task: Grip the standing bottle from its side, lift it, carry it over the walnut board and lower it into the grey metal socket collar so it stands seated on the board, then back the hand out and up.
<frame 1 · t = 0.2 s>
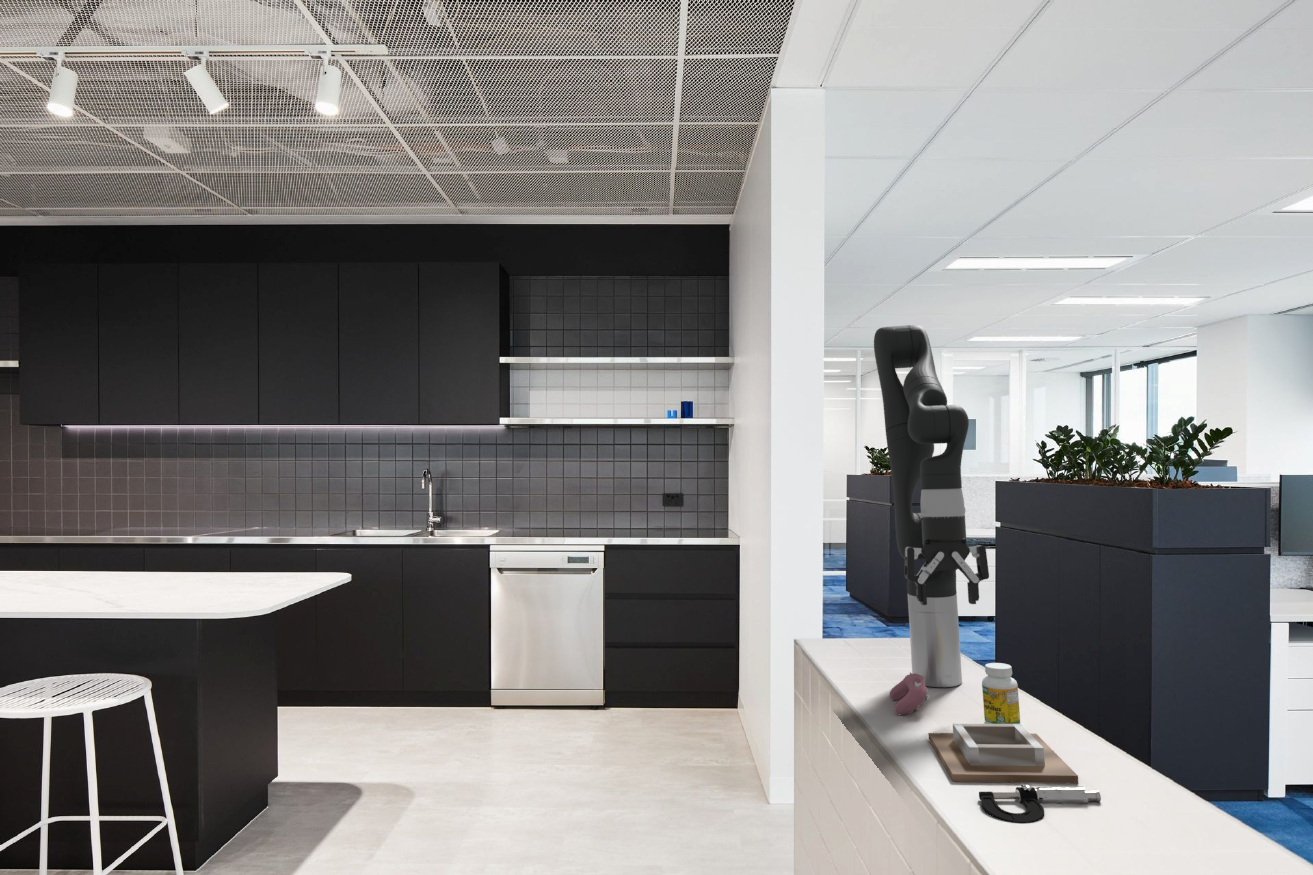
hand: (947, 604, 137), 18 cm above the counter, tool pointing down, fingers open, 8 cm apart
video game controller: (909, 708, 135), on the counter
supplement bottle: (1002, 725, 124), on the counter
socket board: (997, 759, 110), on the counter
micrometer: (1045, 814, 94), on the counter
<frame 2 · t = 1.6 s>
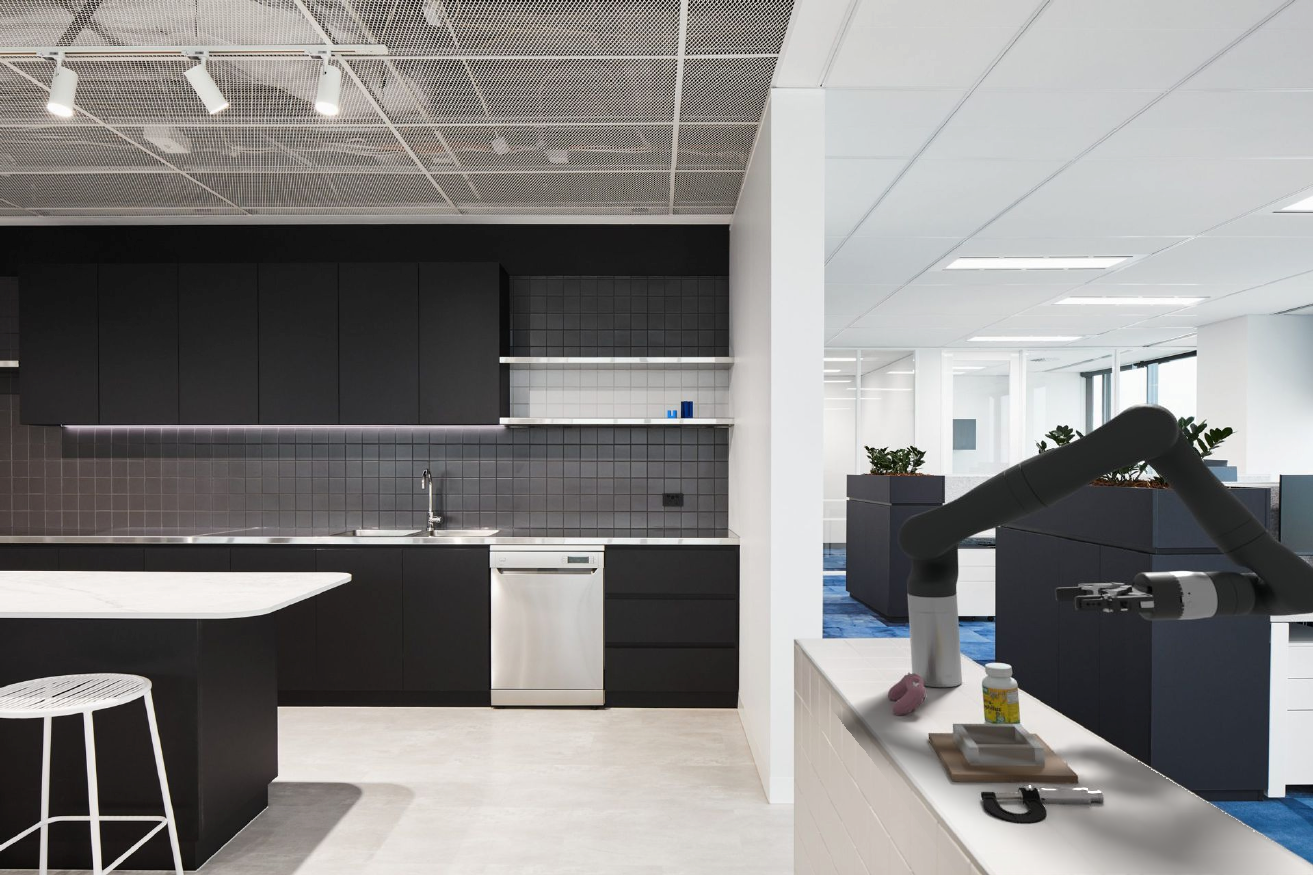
hand: (1065, 598, 123), 20 cm above the counter, tool horizontal, fingers open, 8 cm apart
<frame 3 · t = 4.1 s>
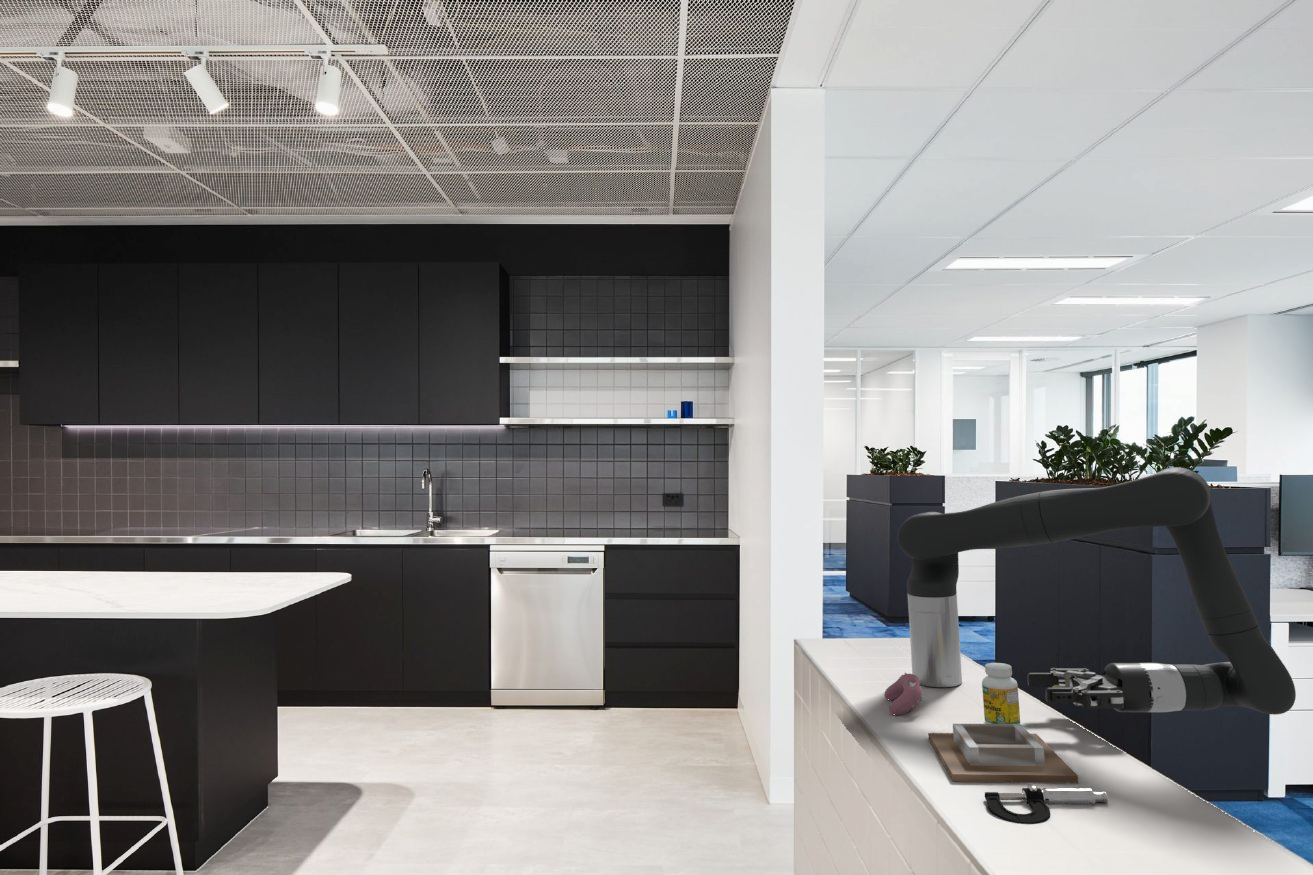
hand: (1036, 687, 124), 6 cm above the counter, tool horizontal, fingers open, 8 cm apart
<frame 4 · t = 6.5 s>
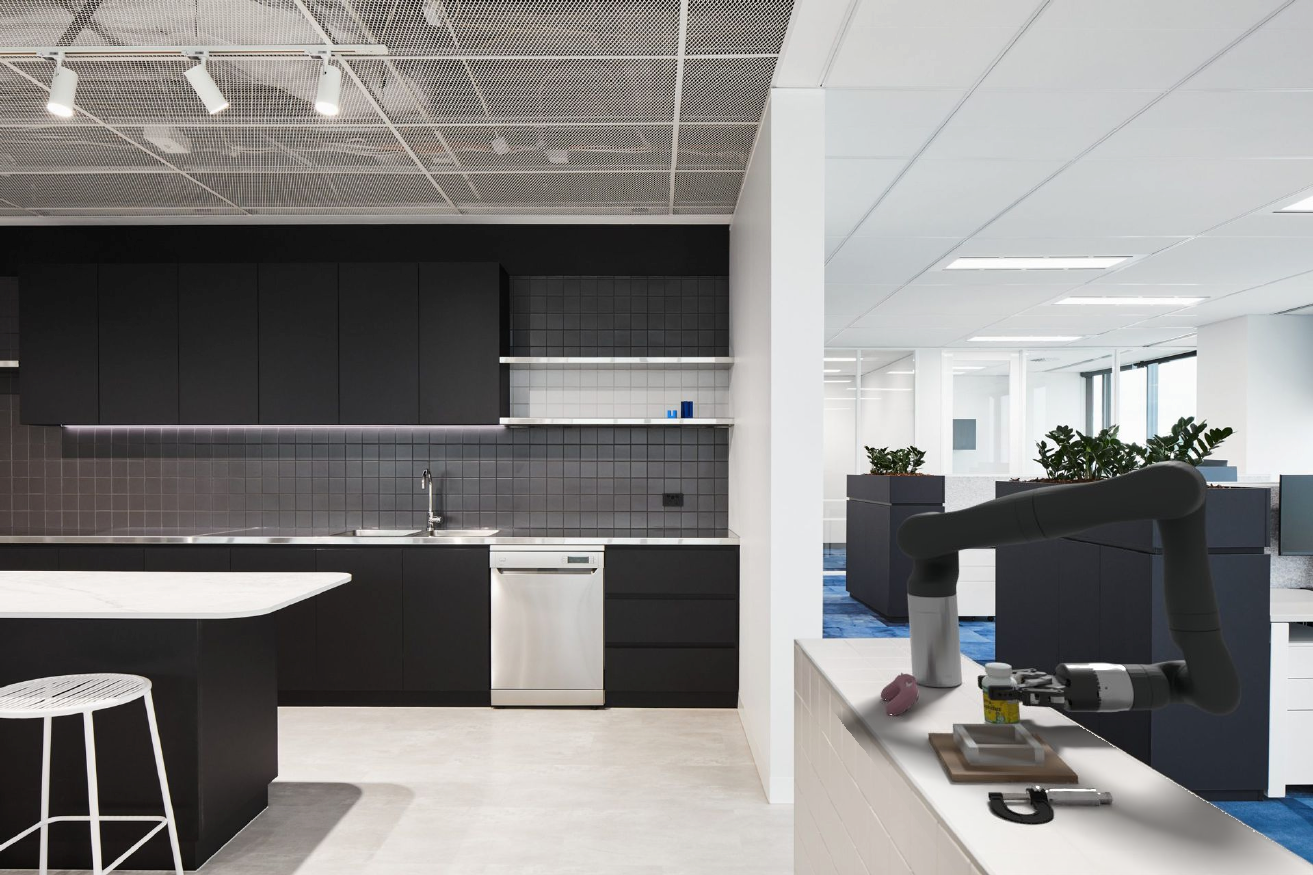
hand: (983, 687, 125), 6 cm above the counter, tool horizontal, fingers closed on supplement bottle, 5 cm apart
supplement bottle: (1002, 725, 124), on the counter, touching gripper
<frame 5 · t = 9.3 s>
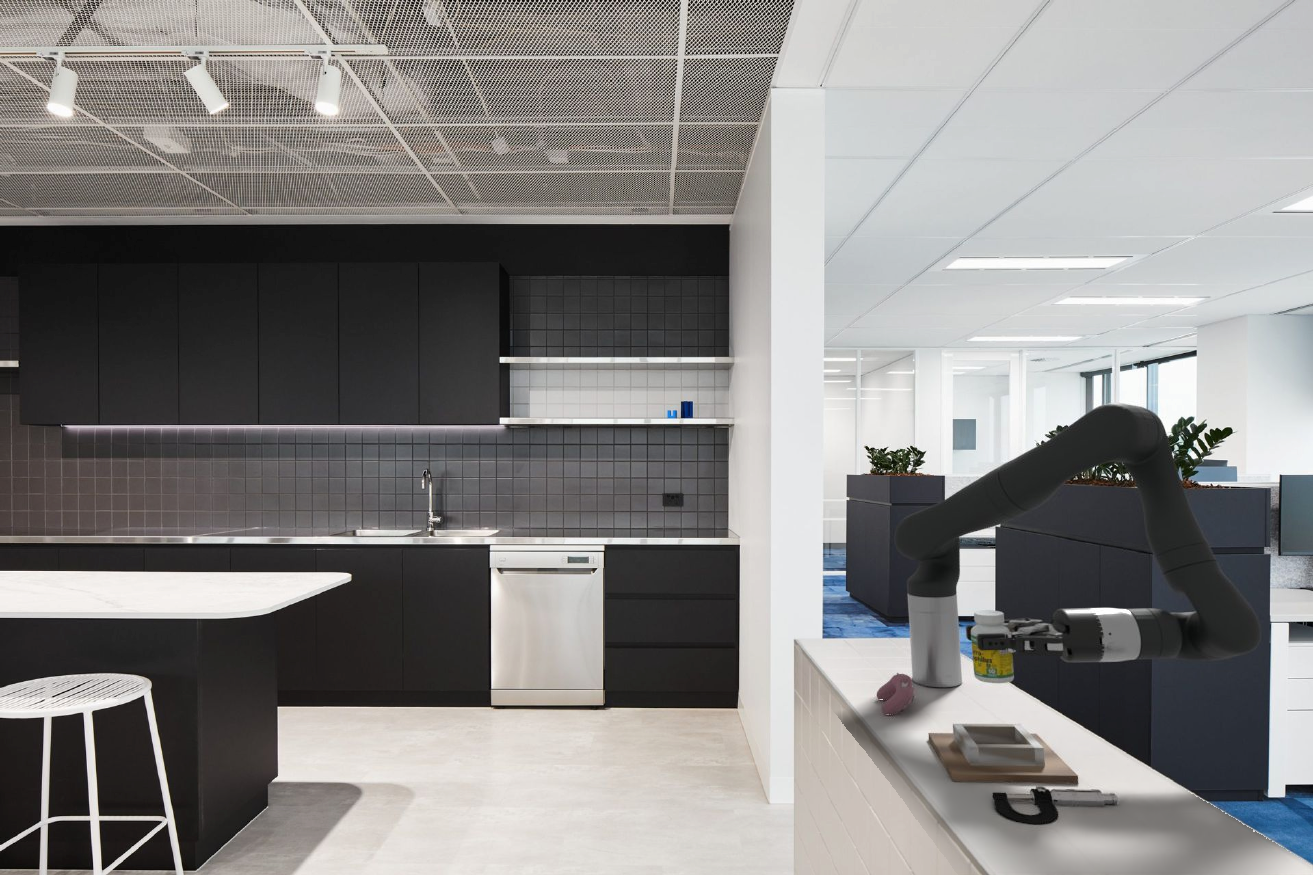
hand: (972, 637, 111), 18 cm above the counter, tool horizontal, fingers closed on supplement bottle, 5 cm apart
supplement bottle: (994, 680, 111), point 11 cm above the counter, touching gripper
when the fingers open (8 cm above the counter, at t = 12.4 s): supplement bottle drops 1 cm, resting on socket board.
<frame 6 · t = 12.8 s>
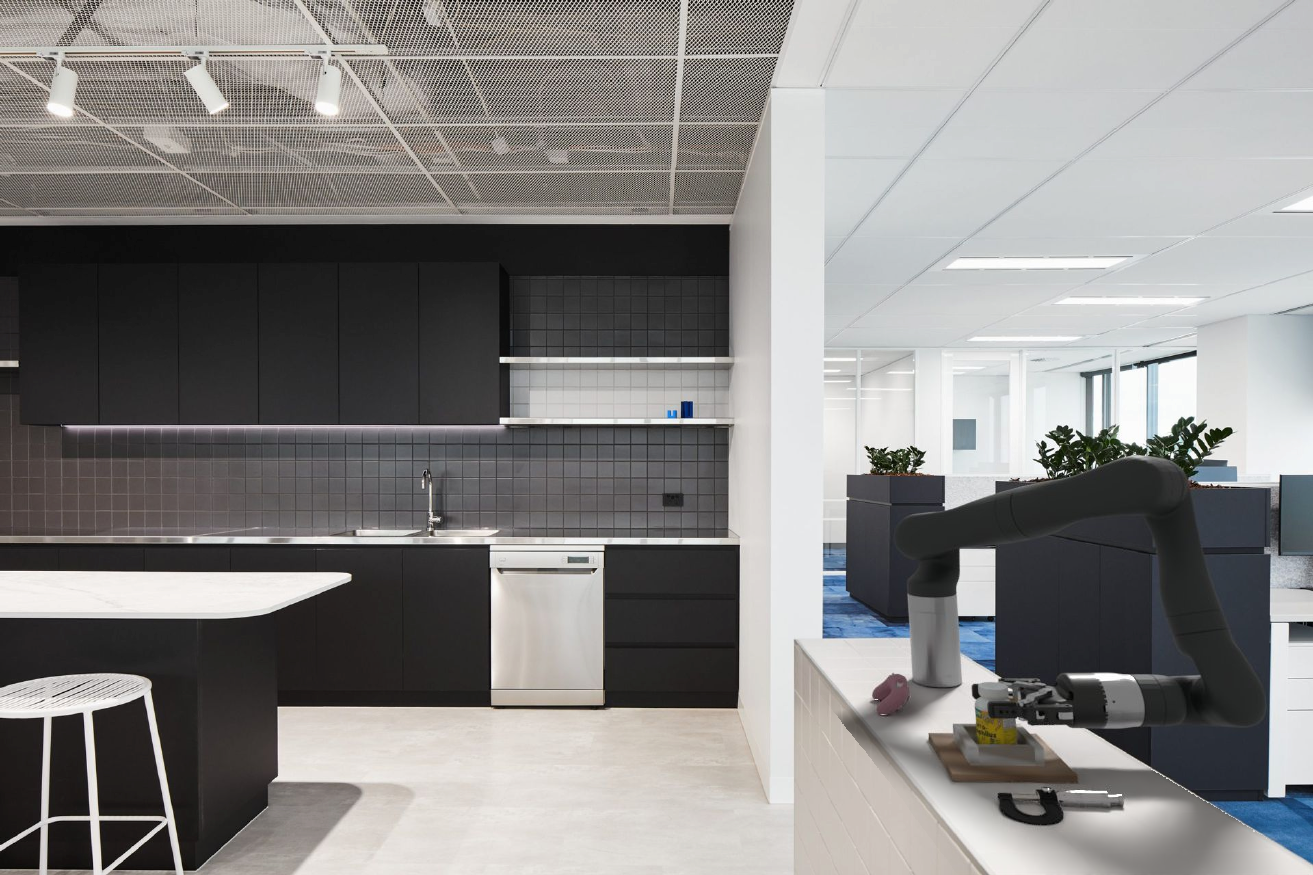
hand: (980, 700, 111), 9 cm above the counter, tool horizontal, fingers open, 8 cm apart
supplement bottle: (997, 753, 110), point 1 cm above the counter, touching socket board
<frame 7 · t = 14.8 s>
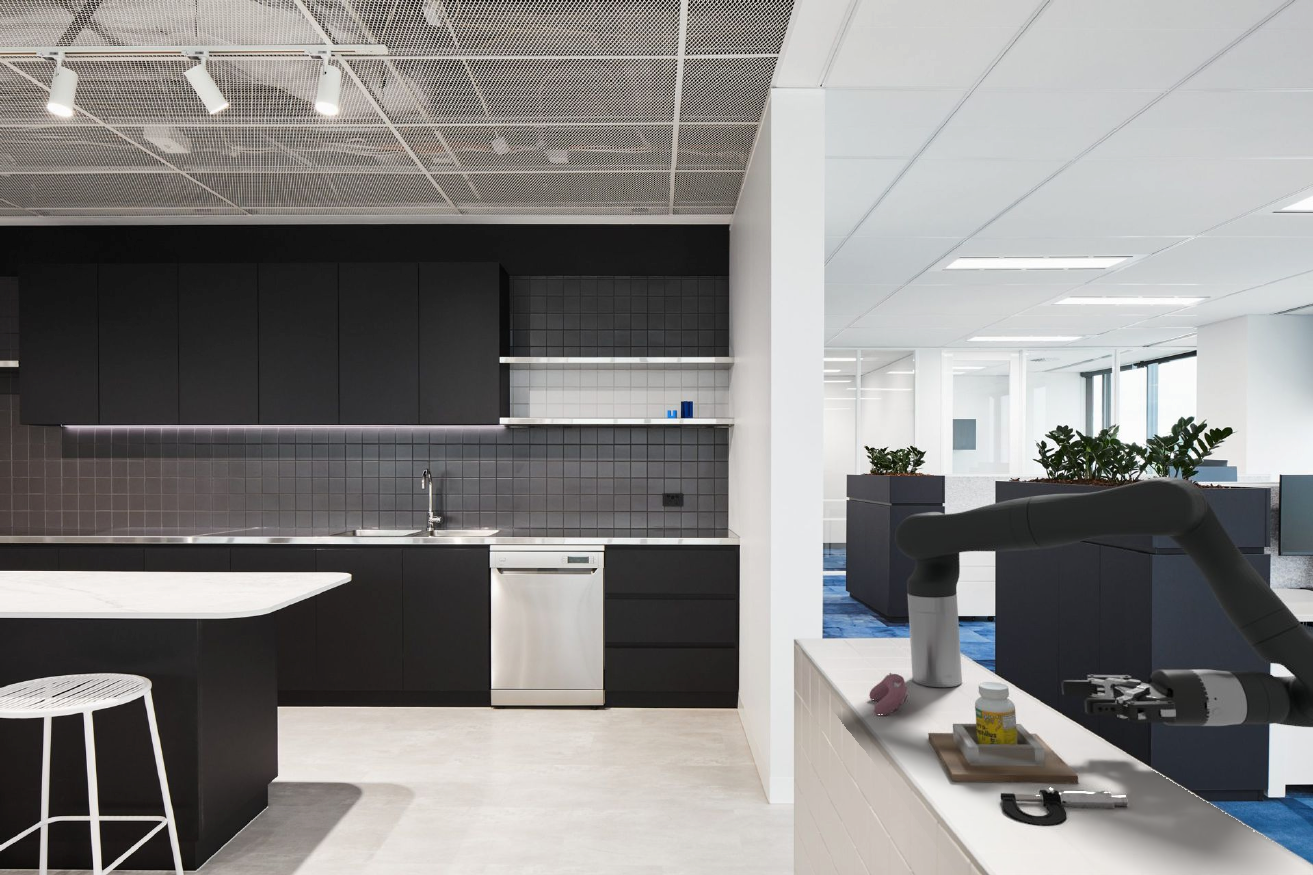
hand: (1073, 697, 109), 9 cm above the counter, tool horizontal, fingers open, 8 cm apart
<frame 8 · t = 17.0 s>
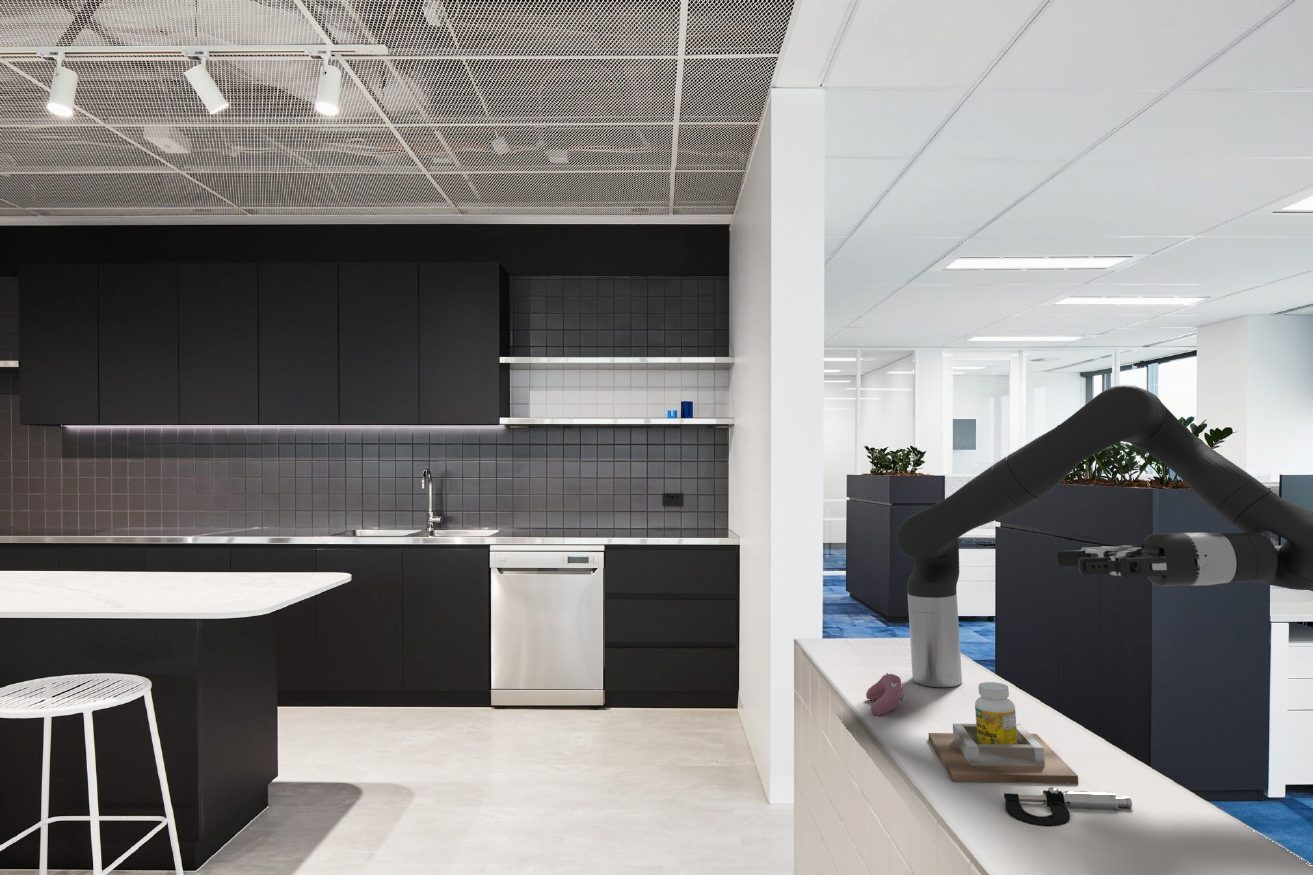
hand: (1067, 562, 112), 28 cm above the counter, tool horizontal, fingers open, 8 cm apart
at the end: supplement bottle 0.1 cm off-centre on the socket board, point 0.8 cm above the socket board's base; supplement bottle tilted 0°; the gripper is holding nothing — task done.
